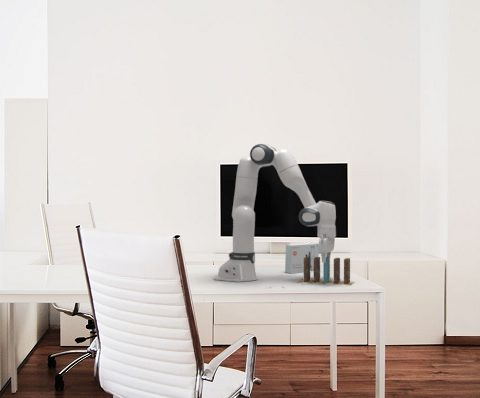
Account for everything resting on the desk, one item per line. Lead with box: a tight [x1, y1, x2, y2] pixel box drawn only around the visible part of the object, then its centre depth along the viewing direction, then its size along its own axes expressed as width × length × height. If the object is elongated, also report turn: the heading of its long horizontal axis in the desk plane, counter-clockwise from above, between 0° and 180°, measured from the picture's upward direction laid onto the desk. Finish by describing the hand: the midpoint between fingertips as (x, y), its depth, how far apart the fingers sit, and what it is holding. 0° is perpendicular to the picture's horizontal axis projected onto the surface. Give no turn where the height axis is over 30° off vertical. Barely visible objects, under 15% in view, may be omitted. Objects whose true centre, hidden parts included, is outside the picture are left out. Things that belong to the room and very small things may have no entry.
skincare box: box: [284, 242, 320, 274], centre depth 360 cm, size 21×5×16 cm, turn 126°
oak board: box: [296, 278, 355, 286], centre depth 316 cm, size 27×12×1 cm, turn 71°
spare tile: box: [322, 256, 331, 283], centre depth 316 cm, size 2×6×12 cm, turn 161°
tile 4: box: [313, 256, 321, 283], centre depth 317 cm, size 2×6×12 cm, turn 161°
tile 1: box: [343, 257, 351, 284], centre depth 312 cm, size 2×6×12 cm, turn 161°
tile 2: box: [333, 257, 341, 284], centre depth 314 cm, size 2×6×12 cm, turn 161°
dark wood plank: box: [303, 257, 311, 282], centre depth 319 cm, size 2×6×12 cm, turn 161°
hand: (326, 261), depth 315 cm, fingers open, 8 cm apart
